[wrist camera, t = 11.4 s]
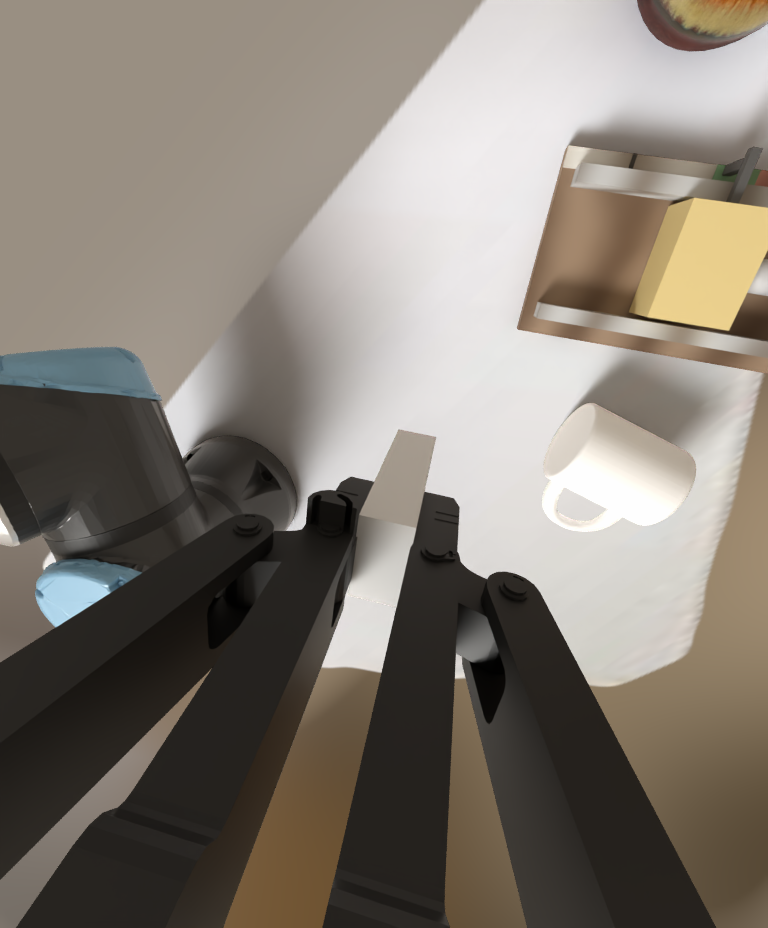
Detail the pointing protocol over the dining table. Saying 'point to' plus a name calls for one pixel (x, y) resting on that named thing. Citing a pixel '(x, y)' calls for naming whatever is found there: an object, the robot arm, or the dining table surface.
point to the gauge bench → (631, 257)
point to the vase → (702, 21)
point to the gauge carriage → (707, 257)
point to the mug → (615, 470)
